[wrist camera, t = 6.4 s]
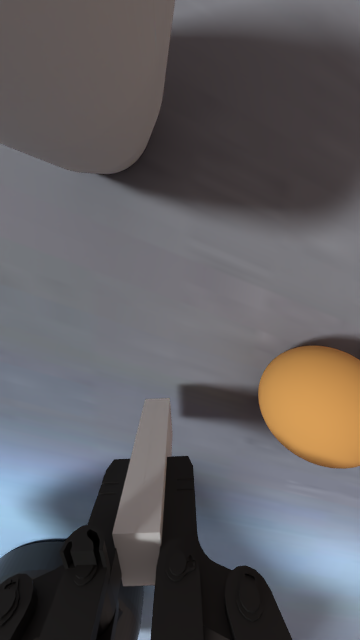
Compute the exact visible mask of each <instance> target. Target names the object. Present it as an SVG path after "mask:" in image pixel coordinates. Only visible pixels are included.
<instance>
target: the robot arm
mask: <svg viewBox="0 0 360 640" xmlns="http://www.w3.org/2000/svg"><path fill="white" fill-rule="evenodd" d="M171 455H172V422H171V409H170V398H161V399H145V402H144V406H143V410H142V414H141V418H140V422H139V426H138V430H137V435H136V439H135V443H134V447H133V451H132V455H131V459H114V461H113V462H112V463H111V465H110V466H109V467H108V469H107V470H106V473H105V476H104V478H103V481H102V485H101V487H100V490H99V494H98V496H97V499H96V502H95V505H94V507H93V510H92V513H91V516H90V519H89V522H88V525H85V526H82V527H80V528H79V529H77V530H76V531H74V532H73V533H72V534H71V535H70V536H69V537H68V538H67V539H66V541H65V542H40V543H34V544H29V545H25V546H22V547H19V548H17V549H14V550H12V551H10V552H9V553H7V554H5V555H4V556H3V557H2V558H0V640H137V639H138V635H139V630H140V624H141V615H142V606H143V597H144V591H143V586H148V585H155V591H154V604H153V617H152V629H151V640H292V638H291V636H290V633H289V631H288V629H287V627H286V624H285V622H284V620H283V617H282V615H281V613H280V610H279V608H278V606H277V604H276V601H275V599H274V597H273V594H272V592H271V590H270V588H269V586H268V585H267V583H266V581H265V580H264V578H263V577H262V576H261V575H260V574H259V573H258V572H257V571H256V570H255V569H252V568H250V567H248V566H238V567H236V568H235V569H234V570H230V569H228V568H226V567H223V566H221V565H219V564H217V563H215V562H213V561H212V560H210V559H209V558H208V557H207V556H206V554H205V553H204V551H203V550H202V548H201V546H200V543H199V541H198V535H197V523H196V507H195V491H194V474H193V465H192V463H191V461H190V459H189V457H188V456H176V457H171Z"/></svg>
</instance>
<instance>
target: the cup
mask: <svg viewBox="0 0 360 640" xmlns="http://www.w3.org/2000/svg"><path fill="white" fill-rule="evenodd" d="M174 4H175V0H0V144H3V145H5V146H8V147H10V148H13V149H15V150H18V151H20V152H23V153H25V154H28V155H31V156H33V157H36V158H38V159H41V160H43V161H46V162H48V163H51V164H53V165H56V166H59V167H61V168H64V169H67V170H70V171H75V172H81V173H96V174H113V173H117V172H120V171H123V170H125V169H127V168H128V167H130V166H131V165H132V164H134V163H135V162H136V161H137V160H138V159H139V157H140V156H141V155H142V153H143V152H144V150H145V148H146V146H147V144H148V141H149V138H150V136H151V133H152V131H153V128H154V125H155V123H156V120H157V118H158V115H159V111H160V108H161V103H162V98H163V91H164V83H165V75H166V67H167V59H168V52H169V44H170V36H171V28H172V20H173V12H174Z"/></svg>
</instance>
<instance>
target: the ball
mask: <svg viewBox="0 0 360 640" xmlns="http://www.w3.org/2000/svg"><path fill="white" fill-rule="evenodd" d="M258 398H259V405H260V410H261V413H262V416H263V418H264V420H265V422H266V424H267V426H268V428H269V429H270V431H271V432H272V434H273V435H274V436H275V437H276V438H277V439H278V441H279V442H280V443H281V444H282V445H284V446H285V447H286V448H287V449H288V450H290V451H291V452H292V453H294V454H295V455H297V456H299V457H301V458H303V459H305V460H307V461H309V462H311V463H314V464H317V465H320V466H324V467H330V468H353V467H357V466H360V360H359V359H357V358H356V357H354V356H352V355H350V354H348V353H346V352H343V351H341V350H338V349H334V348H330V347H325V346H302V347H297V348H293V349H290V350H288V351H286V352H284V353H282V354H280V355H279V356H277V357H276V358H275V359H274V360H273V361H271V363H270V364H269V365H268V366H267V368H266V369H265V371H264V373H263V375H262V377H261V380H260V384H259V391H258Z"/></svg>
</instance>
